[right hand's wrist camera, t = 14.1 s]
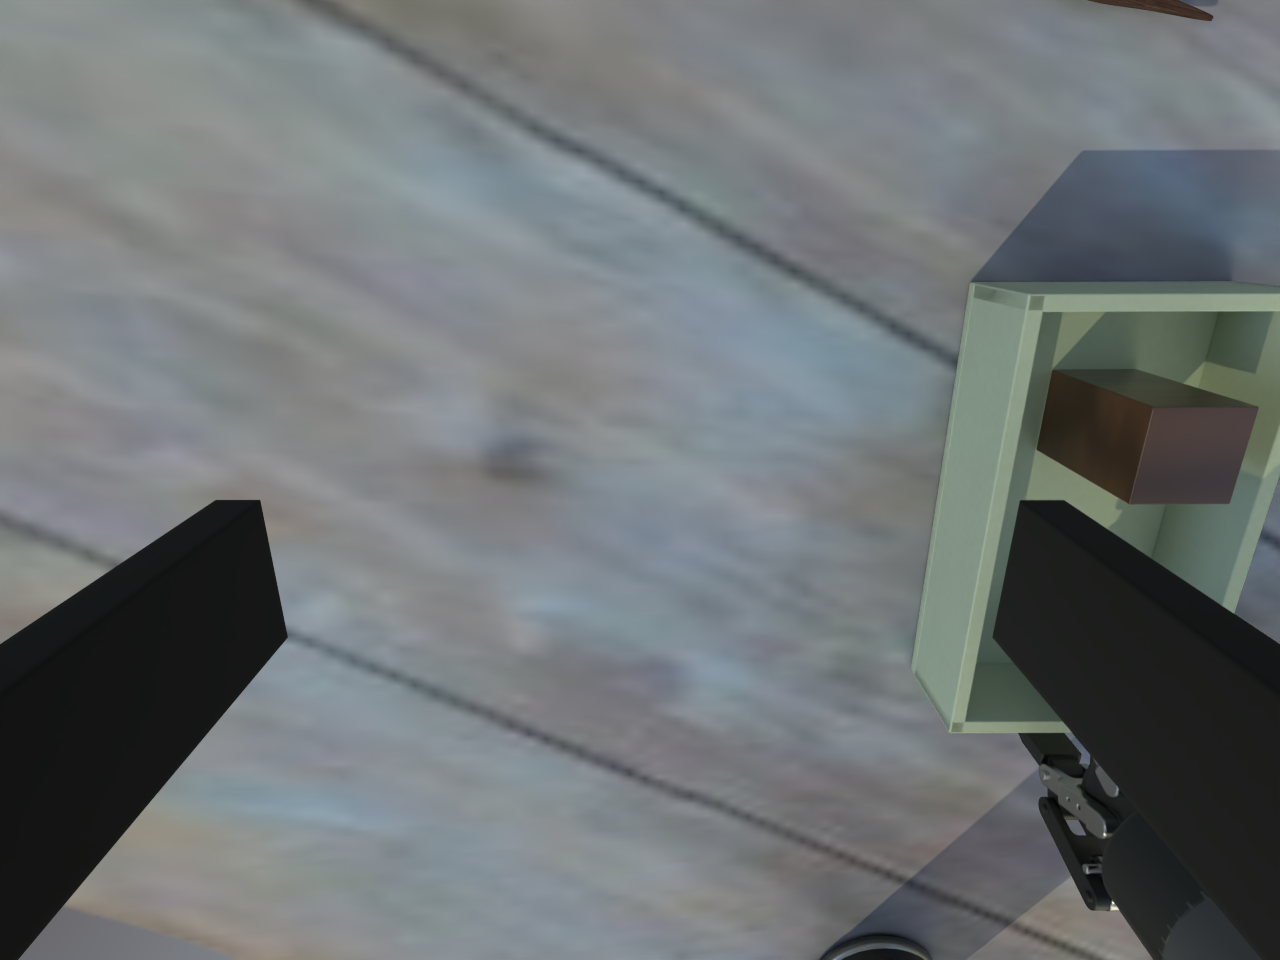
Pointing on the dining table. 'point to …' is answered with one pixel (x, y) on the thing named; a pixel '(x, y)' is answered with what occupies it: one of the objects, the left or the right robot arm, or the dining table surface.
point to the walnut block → (1146, 435)
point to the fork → (1162, 7)
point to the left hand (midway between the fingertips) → (1037, 679)
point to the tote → (1014, 470)
